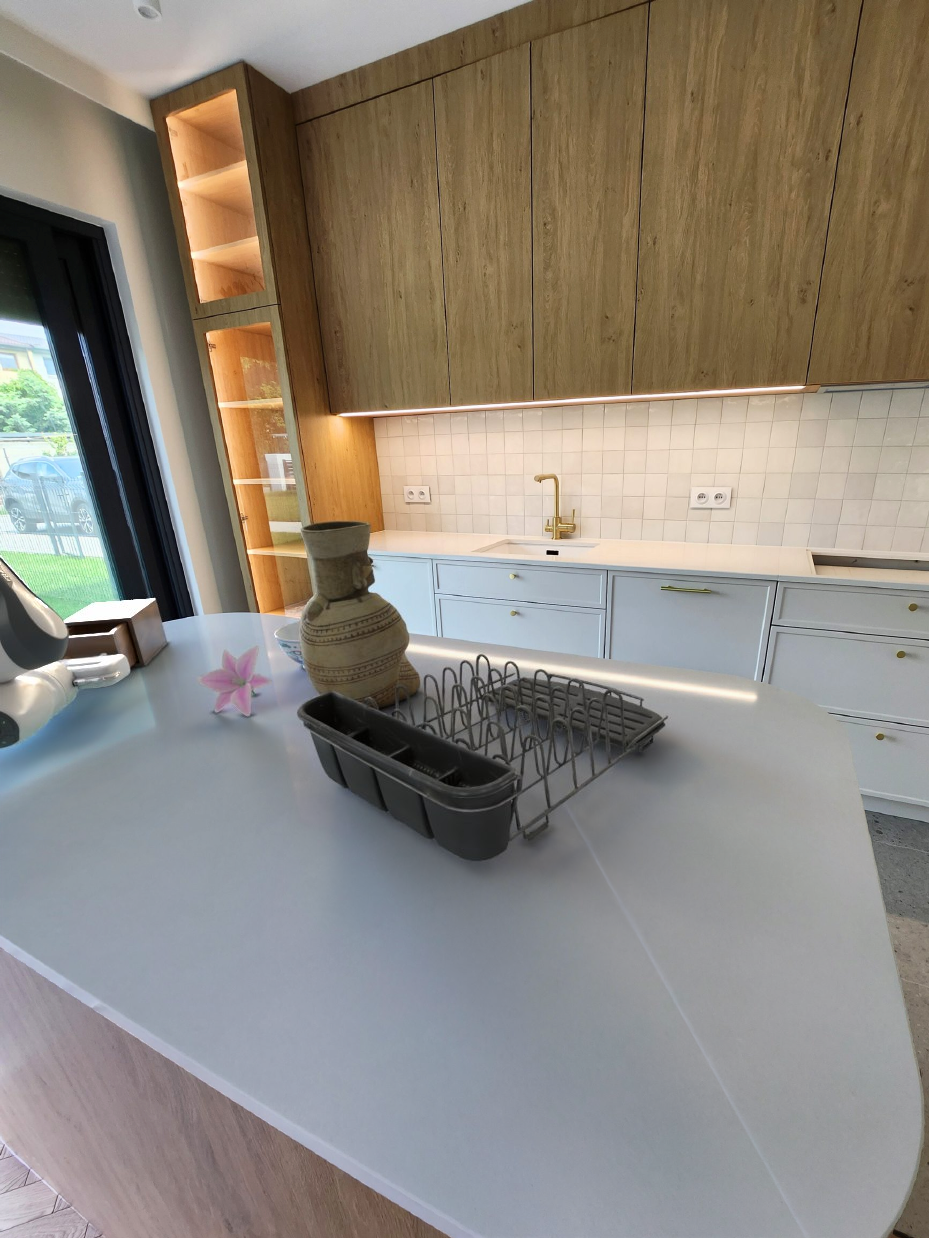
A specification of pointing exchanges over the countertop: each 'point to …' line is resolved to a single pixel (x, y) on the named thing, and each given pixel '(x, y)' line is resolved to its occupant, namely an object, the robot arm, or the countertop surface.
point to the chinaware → (290, 641)
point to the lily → (235, 681)
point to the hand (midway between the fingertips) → (79, 659)
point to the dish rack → (468, 753)
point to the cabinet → (140, 622)
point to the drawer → (101, 641)
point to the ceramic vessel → (352, 621)
